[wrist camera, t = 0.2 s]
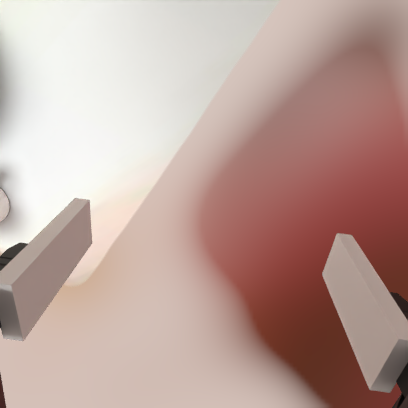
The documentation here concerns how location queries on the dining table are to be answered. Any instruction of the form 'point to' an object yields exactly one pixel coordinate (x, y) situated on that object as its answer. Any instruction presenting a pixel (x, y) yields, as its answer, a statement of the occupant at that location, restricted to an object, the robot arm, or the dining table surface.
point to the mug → (3, 205)
